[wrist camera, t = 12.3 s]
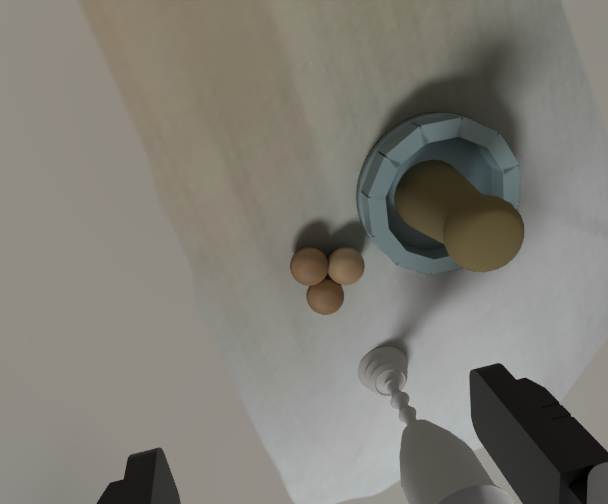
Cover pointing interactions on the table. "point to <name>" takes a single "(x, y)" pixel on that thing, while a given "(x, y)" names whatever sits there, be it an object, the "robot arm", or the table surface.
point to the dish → (421, 147)
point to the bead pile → (313, 269)
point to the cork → (459, 216)
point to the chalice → (428, 444)
